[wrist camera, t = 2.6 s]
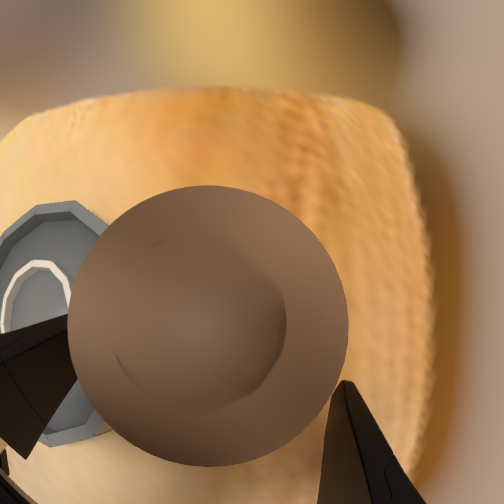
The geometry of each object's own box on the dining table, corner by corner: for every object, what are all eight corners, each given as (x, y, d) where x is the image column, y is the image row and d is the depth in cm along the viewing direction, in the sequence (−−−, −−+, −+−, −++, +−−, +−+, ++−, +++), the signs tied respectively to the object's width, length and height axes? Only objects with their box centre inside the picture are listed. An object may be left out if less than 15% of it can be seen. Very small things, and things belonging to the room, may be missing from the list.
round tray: (82, 480, 12) (66, 488, 10) (-25, 333, 17) (-40, 329, 14) (199, 292, 18) (191, 282, 16) (55, 187, 23) (43, 174, 20)
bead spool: (253, 405, 16) (244, 510, 3) (176, 356, 17) (34, 344, 5) (301, 328, 17) (391, 267, 5) (224, 283, 19) (168, 152, 7)
